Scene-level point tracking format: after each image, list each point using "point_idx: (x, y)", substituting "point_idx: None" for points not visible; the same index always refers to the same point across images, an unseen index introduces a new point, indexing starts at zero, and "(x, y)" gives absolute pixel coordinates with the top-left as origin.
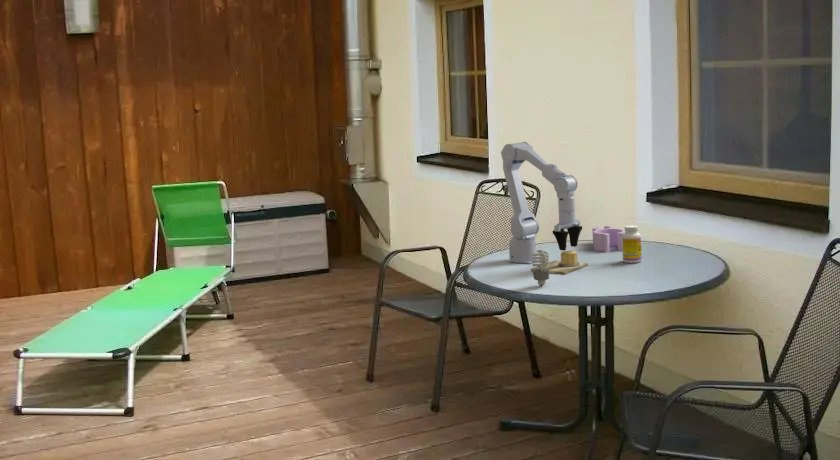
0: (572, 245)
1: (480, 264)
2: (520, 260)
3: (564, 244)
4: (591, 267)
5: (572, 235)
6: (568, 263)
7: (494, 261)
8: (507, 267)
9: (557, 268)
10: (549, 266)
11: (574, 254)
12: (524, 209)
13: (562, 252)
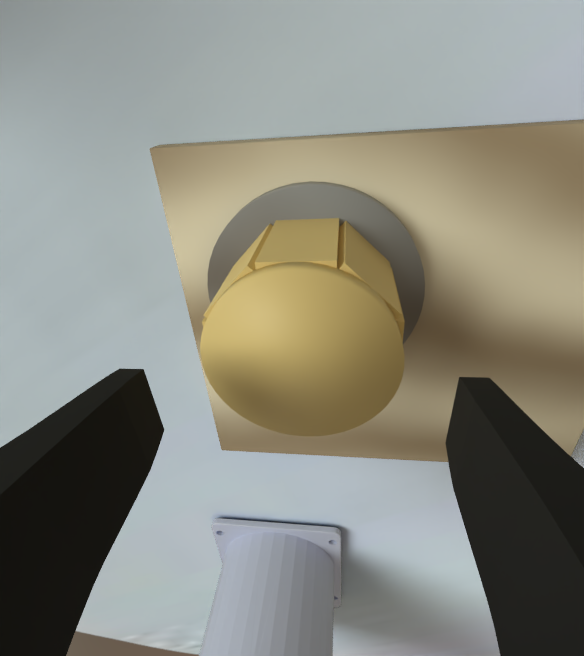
0: (153, 421)
1: (430, 652)
2: (334, 576)
3: (562, 459)
4: (211, 46)
5: (49, 579)
6: (388, 267)
7: (348, 633)
8: (464, 573)
9: (503, 305)
10: (433, 398)
11: (315, 265)
12: None
13: (341, 418)
